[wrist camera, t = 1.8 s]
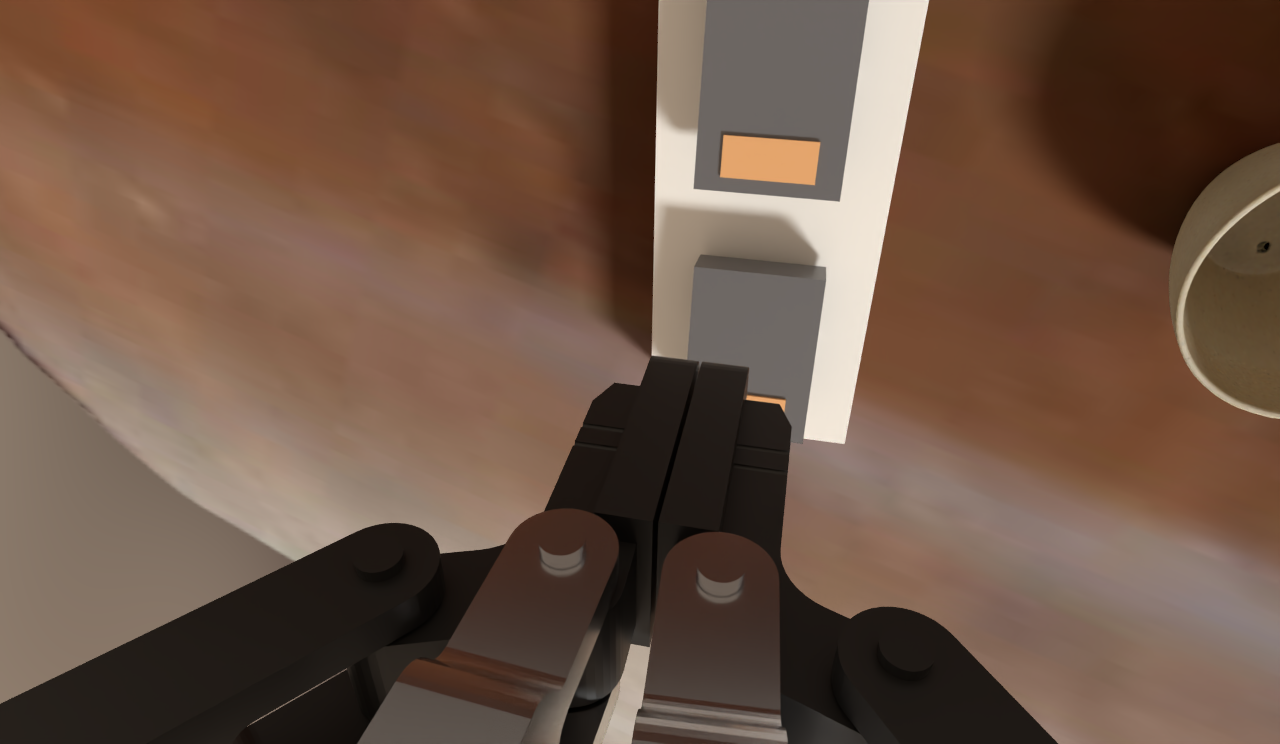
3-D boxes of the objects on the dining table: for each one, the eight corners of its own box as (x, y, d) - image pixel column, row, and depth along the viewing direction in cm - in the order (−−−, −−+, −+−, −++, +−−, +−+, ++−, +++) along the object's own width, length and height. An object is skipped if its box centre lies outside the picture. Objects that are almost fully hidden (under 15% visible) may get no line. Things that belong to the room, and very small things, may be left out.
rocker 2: (826, 266, 32) (826, 281, 31) (803, 424, 35) (802, 444, 33) (700, 254, 33) (693, 267, 31) (688, 408, 36) (681, 428, 34)
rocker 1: (870, -27, 26) (873, -29, 25) (838, 191, 29) (839, 202, 28) (716, -33, 27) (708, -36, 26) (700, 179, 30) (693, 189, 28)
